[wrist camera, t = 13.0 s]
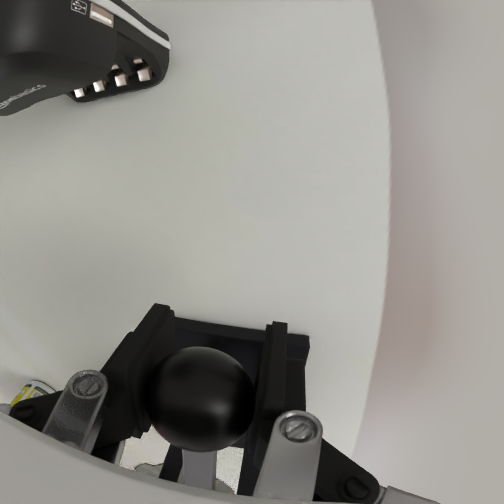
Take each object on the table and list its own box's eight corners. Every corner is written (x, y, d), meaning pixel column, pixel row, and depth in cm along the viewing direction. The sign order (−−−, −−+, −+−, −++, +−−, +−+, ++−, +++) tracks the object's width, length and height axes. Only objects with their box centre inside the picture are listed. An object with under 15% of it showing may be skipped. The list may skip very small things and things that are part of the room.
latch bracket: (169, 315, 20) (74, 481, 8) (309, 335, 19) (316, 533, 7) (178, 426, 24) (135, 549, 12) (281, 442, 24) (269, 574, 12)
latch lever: (163, 319, 10) (119, 378, 7) (265, 335, 10) (256, 406, 7) (179, 504, 14) (165, 547, 10) (236, 515, 13) (228, 560, 10)
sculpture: (237, 474, 27) (230, 533, 23) (236, 460, 35) (230, 510, 31) (128, 453, 27) (123, 512, 23) (148, 445, 35) (143, 494, 31)
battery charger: (74, 118, 16) (-86, 135, 5) (73, 62, 14) (-78, 44, 4) (176, 96, 15) (15, 60, 4) (175, 33, 14) (38, -58, 3)
